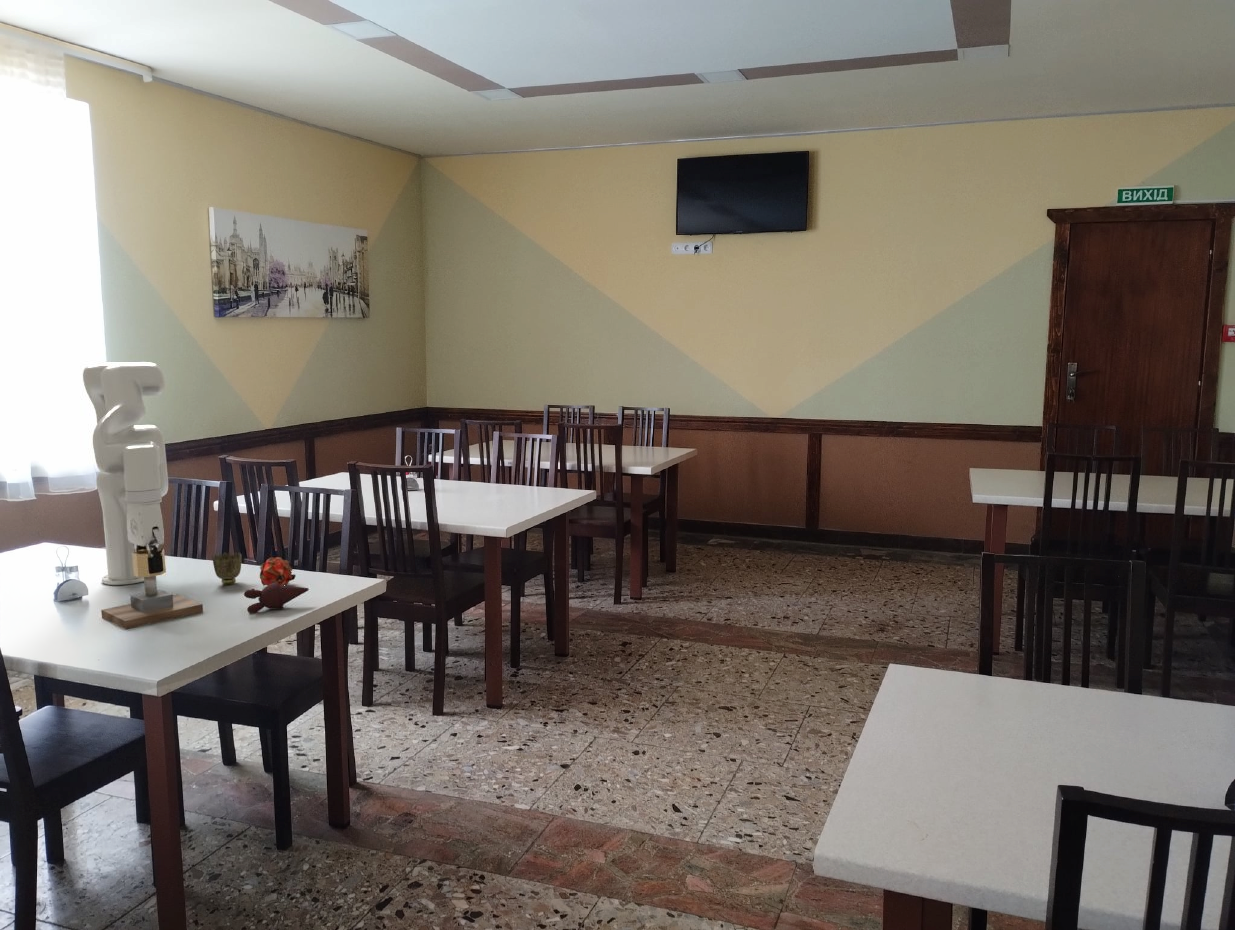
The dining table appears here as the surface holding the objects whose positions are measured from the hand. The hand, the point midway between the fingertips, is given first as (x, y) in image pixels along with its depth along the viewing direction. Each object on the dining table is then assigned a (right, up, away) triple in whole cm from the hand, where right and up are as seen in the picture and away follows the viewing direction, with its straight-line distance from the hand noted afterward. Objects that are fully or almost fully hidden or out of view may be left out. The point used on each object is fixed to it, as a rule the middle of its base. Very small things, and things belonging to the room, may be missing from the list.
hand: (149, 569), depth 227 cm
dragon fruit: (+21, -8, +27) cm, 35 cm away
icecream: (+28, -10, +6) cm, 31 cm away
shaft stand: (0, -11, +2) cm, 11 cm away
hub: (0, -1, 0) cm, 1 cm away
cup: (+7, -7, +30) cm, 32 cm away
